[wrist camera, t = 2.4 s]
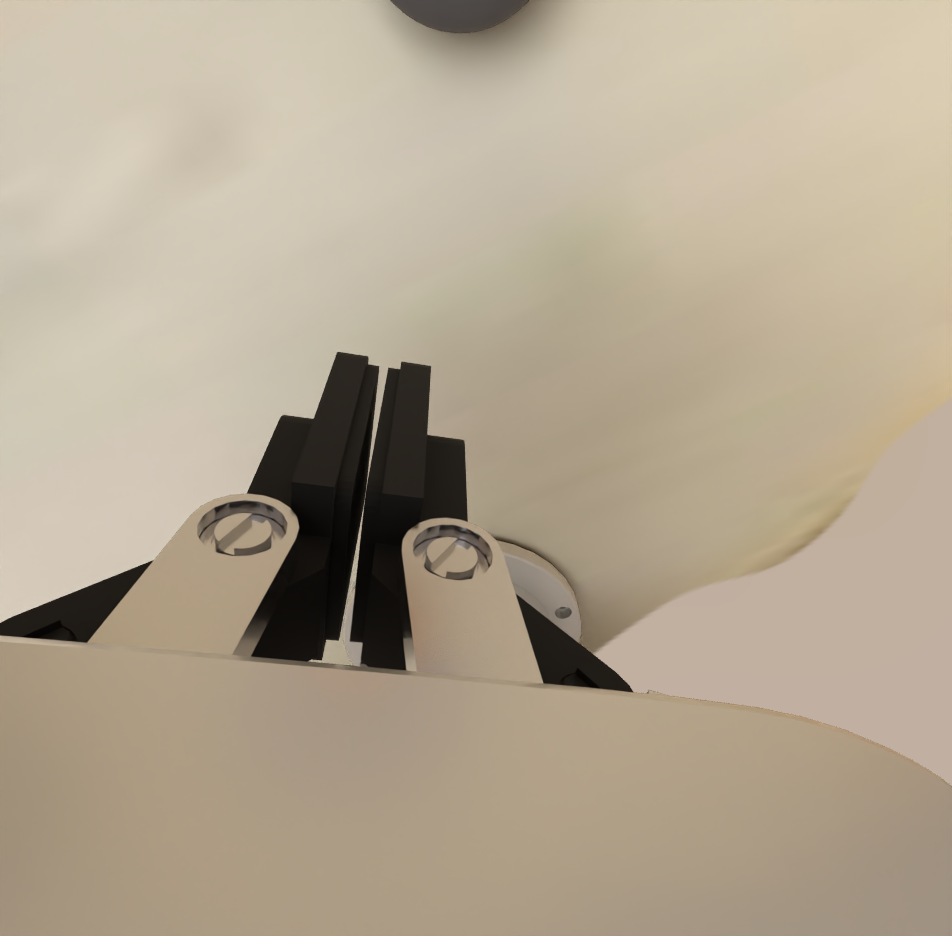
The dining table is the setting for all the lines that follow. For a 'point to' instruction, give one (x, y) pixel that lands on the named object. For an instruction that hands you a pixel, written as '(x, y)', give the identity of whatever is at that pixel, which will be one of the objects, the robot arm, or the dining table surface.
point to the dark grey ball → (459, 13)
